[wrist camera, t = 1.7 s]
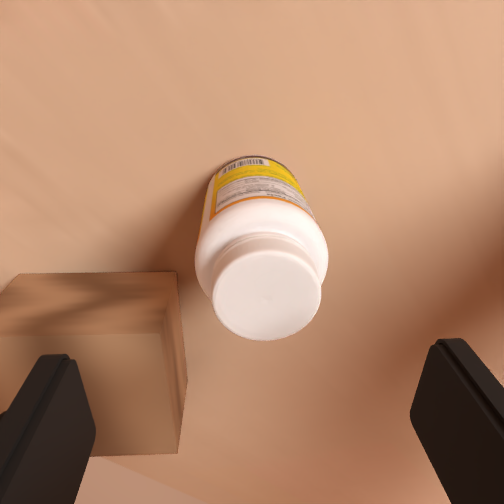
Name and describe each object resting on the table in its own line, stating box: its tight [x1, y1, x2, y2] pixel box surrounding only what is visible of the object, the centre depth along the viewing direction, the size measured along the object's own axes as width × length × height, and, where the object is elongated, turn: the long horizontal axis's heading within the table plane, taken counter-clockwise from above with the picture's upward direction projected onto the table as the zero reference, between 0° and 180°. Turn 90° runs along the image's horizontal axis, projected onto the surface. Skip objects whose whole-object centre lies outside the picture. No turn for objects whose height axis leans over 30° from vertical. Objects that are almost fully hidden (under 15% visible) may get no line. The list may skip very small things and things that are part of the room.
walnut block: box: [0, 272, 188, 457], centre depth 24 cm, size 10×10×6 cm
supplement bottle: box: [195, 155, 328, 341], centre depth 18 cm, size 6×6×10 cm
